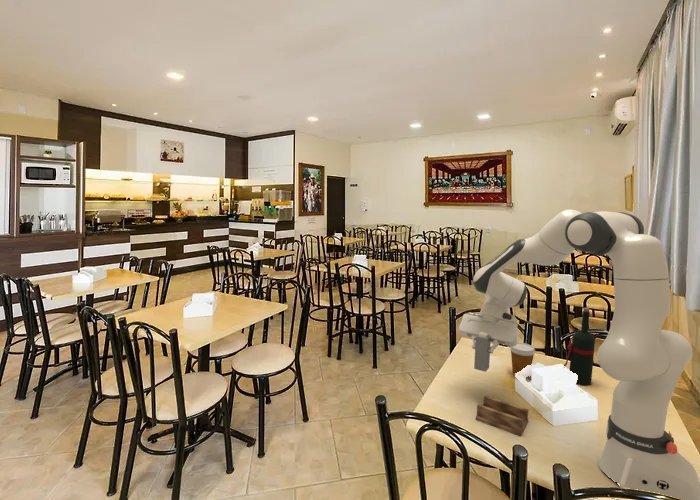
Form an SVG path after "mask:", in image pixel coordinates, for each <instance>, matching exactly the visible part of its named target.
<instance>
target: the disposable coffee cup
mask: <svg viewBox="0 0 700 500" xmlns="http://www.w3.org/2000/svg"><path fill="white" fill-rule="evenodd" d="M509 349H510V354H511V356H510V357H511V369H512V374H513V375H514V374H515V373H517V372H519V371H521V370H522V369H523V368H525V367H526V366H527V365H531V364H533V361H534V355H535V354H536V350H535V347H534V346H533V345H530V344H528V343H525V342H517V344H516V345H515V346H514V347H512V346H509ZM531 366H532V365H531Z"/></svg>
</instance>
